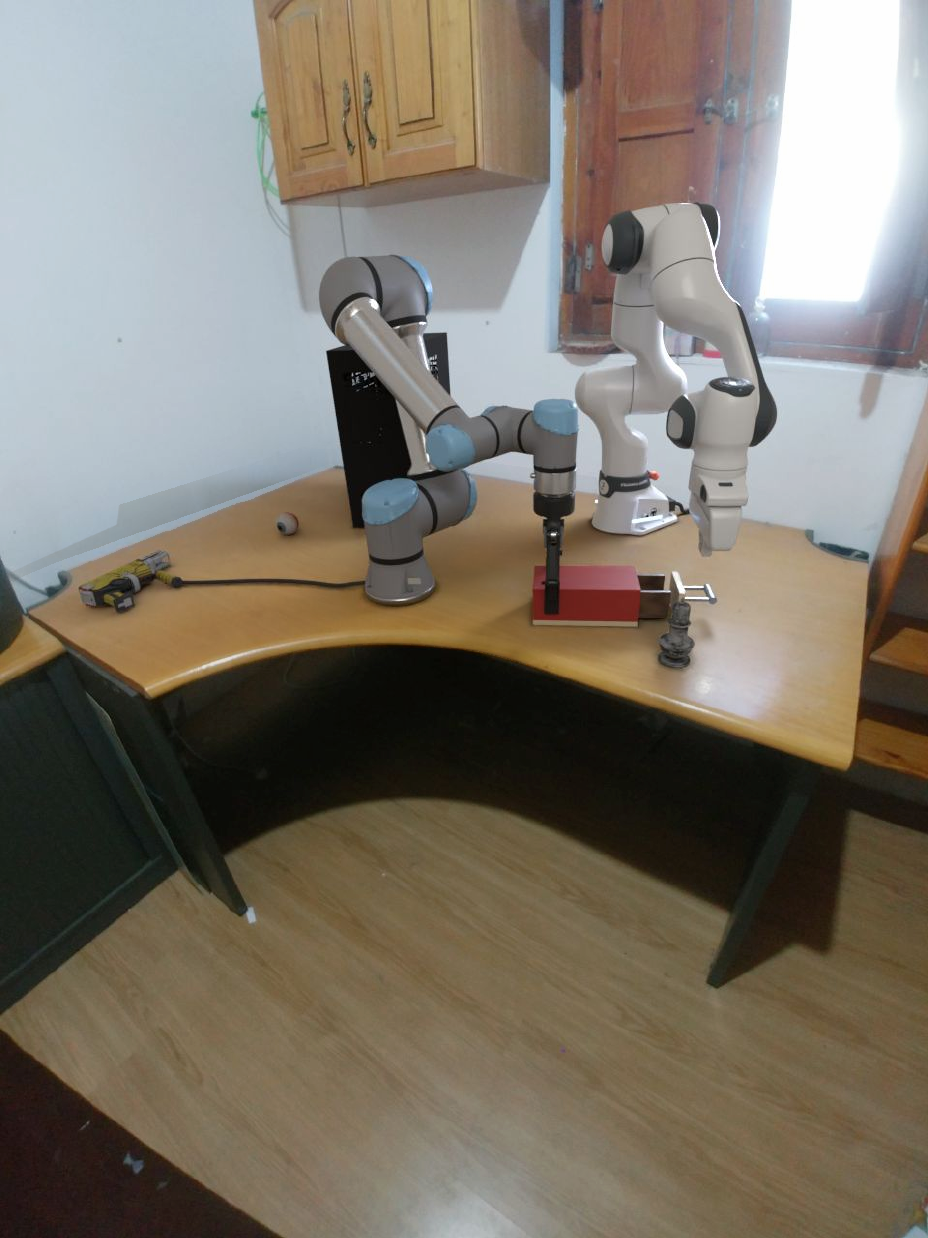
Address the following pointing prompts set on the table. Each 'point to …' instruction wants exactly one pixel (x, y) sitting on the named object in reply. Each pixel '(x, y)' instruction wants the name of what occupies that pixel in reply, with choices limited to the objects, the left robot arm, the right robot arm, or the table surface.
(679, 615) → the chess piece
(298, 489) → the table surface
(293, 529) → the eyeball
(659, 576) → the drawer
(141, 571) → the toy gun
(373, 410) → the cardboard box
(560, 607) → the cabinet
